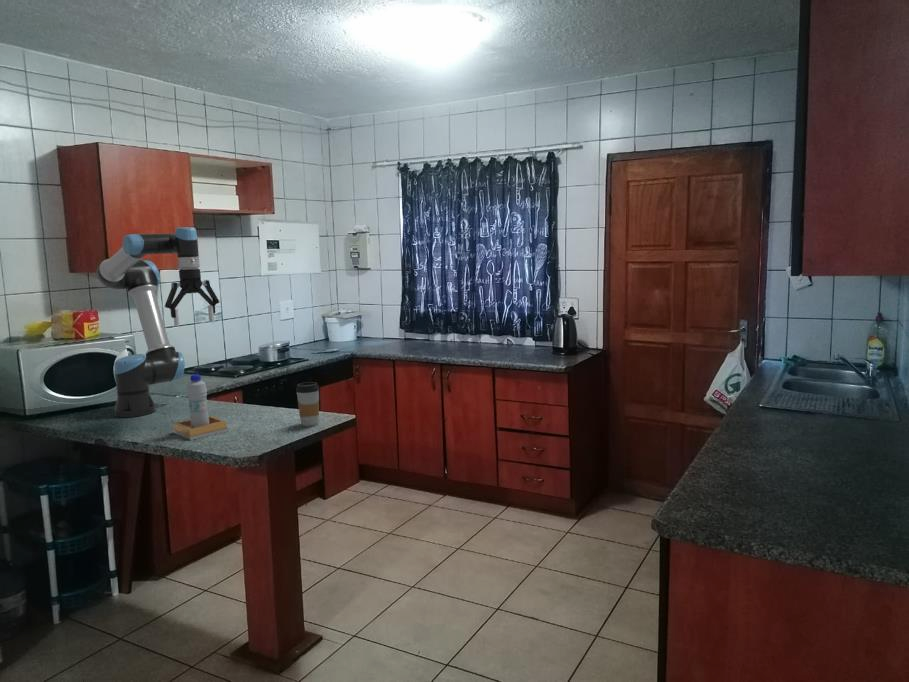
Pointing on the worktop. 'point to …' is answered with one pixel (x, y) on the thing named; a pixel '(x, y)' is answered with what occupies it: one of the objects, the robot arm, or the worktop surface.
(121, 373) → the robot arm
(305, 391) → the coffee cup
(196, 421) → the bottle
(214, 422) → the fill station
